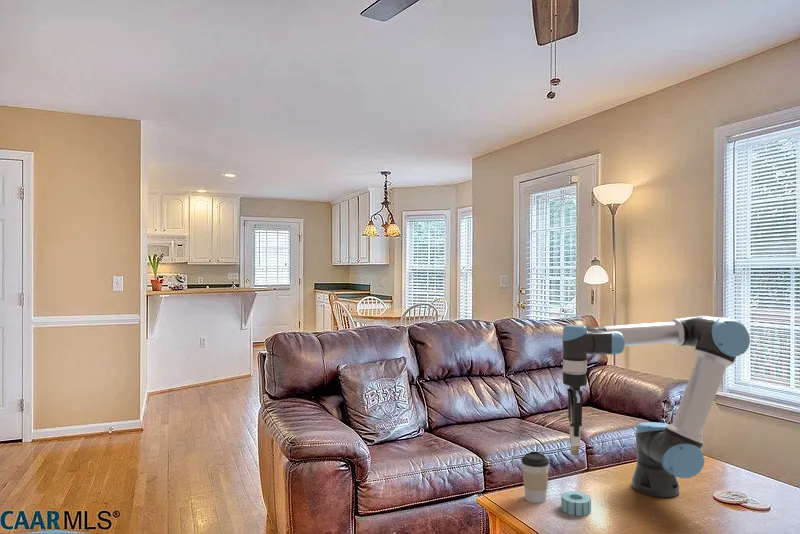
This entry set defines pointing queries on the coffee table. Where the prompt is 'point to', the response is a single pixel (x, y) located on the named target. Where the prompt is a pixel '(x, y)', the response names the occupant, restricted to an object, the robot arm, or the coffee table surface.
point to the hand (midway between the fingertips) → (574, 444)
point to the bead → (576, 503)
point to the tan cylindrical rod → (574, 448)
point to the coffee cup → (535, 476)
